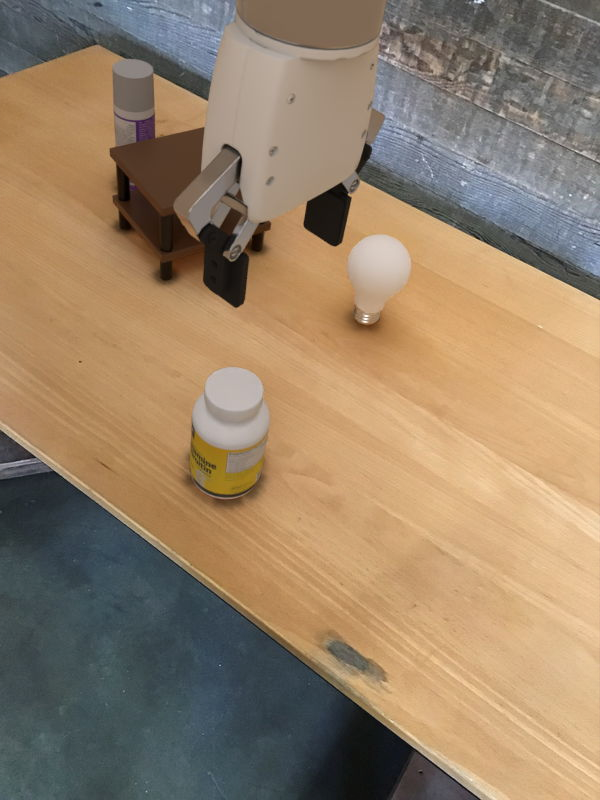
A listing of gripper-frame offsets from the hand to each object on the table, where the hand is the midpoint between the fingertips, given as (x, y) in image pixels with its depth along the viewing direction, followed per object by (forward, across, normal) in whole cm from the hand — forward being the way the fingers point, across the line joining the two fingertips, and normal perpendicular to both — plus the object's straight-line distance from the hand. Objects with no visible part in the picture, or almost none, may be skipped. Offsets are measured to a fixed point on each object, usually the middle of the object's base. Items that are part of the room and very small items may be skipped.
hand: (275, 264), depth 51 cm
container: (+24, -21, -40) cm, 51 cm away
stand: (+24, -19, -28) cm, 42 cm away
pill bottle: (+24, +2, -1) cm, 24 cm away
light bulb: (+24, -24, -5) cm, 34 cm away
